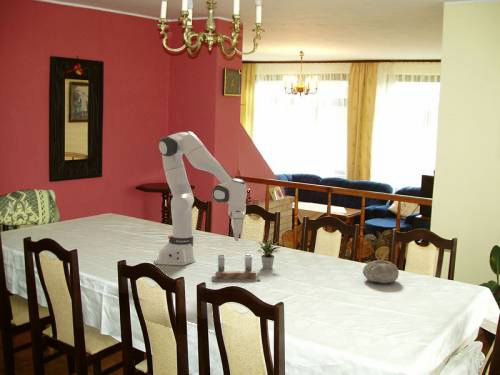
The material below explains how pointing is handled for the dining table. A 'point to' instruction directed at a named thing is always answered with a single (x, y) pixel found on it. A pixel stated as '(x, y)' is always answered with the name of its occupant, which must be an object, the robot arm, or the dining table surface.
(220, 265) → the standard left
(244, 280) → the pad
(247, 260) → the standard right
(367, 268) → the grey flattened round lump
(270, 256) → the house plant
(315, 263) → the dining table surface
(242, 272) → the rail
